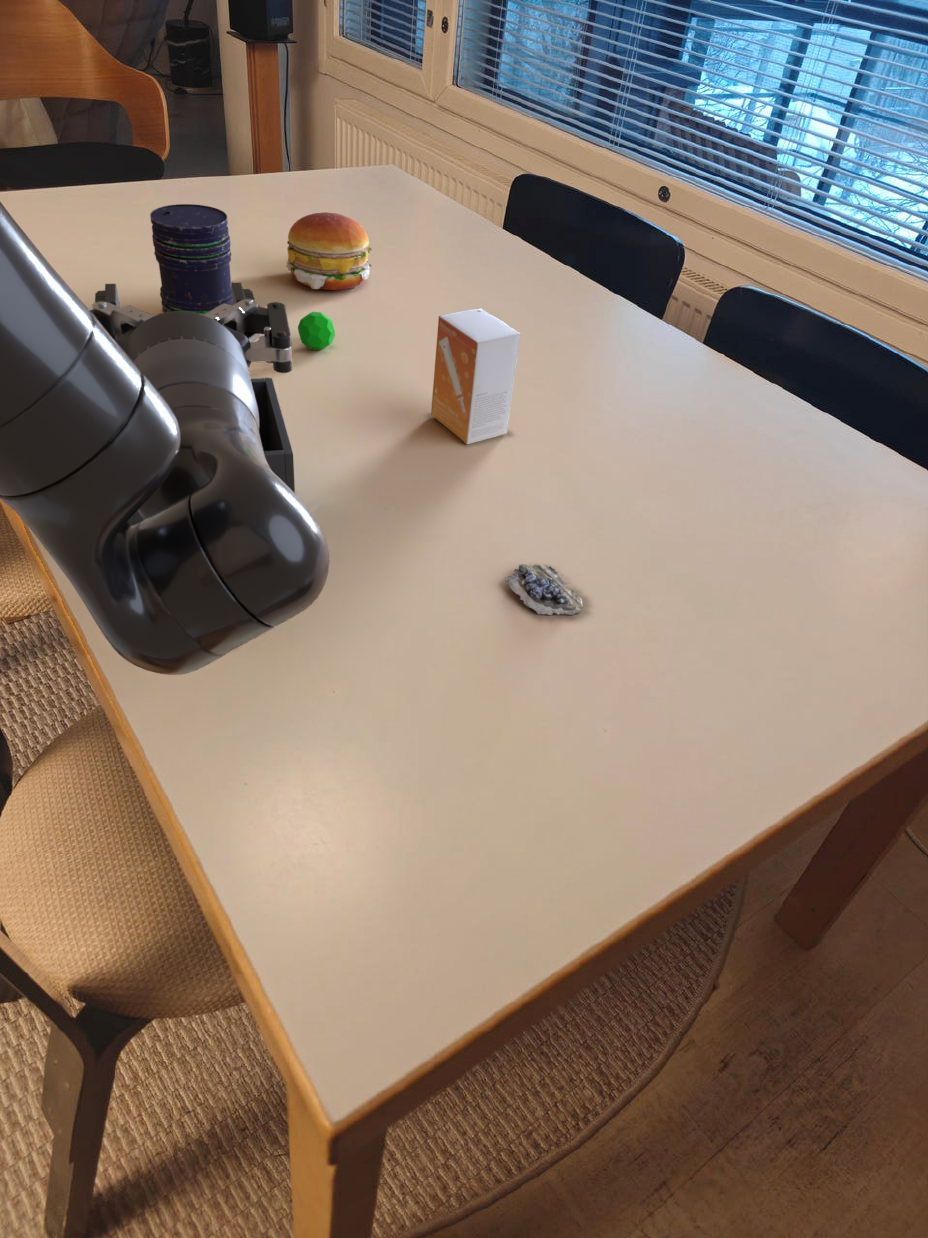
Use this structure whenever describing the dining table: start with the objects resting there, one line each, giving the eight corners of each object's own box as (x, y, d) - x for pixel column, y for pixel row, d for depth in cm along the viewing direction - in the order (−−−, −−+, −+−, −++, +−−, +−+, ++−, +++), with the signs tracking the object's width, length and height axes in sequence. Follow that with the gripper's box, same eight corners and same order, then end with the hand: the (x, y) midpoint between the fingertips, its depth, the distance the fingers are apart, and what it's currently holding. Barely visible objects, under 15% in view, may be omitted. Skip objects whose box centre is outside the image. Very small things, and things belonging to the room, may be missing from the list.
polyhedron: (296, 340, 121) (294, 307, 118) (330, 339, 122) (330, 306, 119) (302, 356, 117) (301, 321, 114) (337, 354, 119) (337, 320, 116)
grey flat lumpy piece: (529, 560, 87) (532, 545, 86) (598, 593, 84) (602, 578, 83) (493, 592, 83) (495, 576, 81) (564, 628, 79) (568, 613, 78)
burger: (381, 274, 143) (383, 211, 137) (353, 302, 133) (354, 235, 127) (305, 260, 145) (304, 197, 139) (272, 287, 135) (269, 220, 129)
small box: (429, 416, 108) (437, 314, 99) (470, 406, 111) (481, 306, 102) (466, 445, 103) (477, 341, 95) (508, 434, 106) (522, 332, 98)
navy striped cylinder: (246, 318, 125) (238, 209, 115) (225, 345, 118) (214, 231, 108) (178, 309, 125) (164, 199, 116) (153, 336, 118) (136, 221, 108)
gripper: (309, 336, 50) (273, 242, 61) (43, 344, 46) (57, 241, 58) (312, 450, 55) (278, 342, 66) (72, 466, 51) (79, 349, 62)
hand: (175, 296), depth 62 cm, fingers open, 8 cm apart
